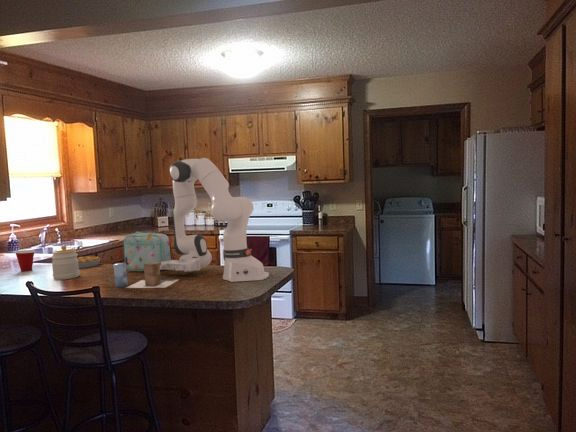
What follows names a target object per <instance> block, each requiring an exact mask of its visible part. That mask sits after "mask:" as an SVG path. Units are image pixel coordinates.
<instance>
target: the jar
mask: <svg viewBox="0 0 576 432" xmlns="http://www.w3.org/2000/svg"><path fill="white" fill-rule="evenodd" d="M76 251H77V250H76V249H74V248H72V247H67V245H66V244H63V245H61V247H60V248H58V249H57V248H56V249H55V250H54V251H52V254H53V255H52V256H51V257H50V259H52V262H51V265H52V277H53V279H54V280H55V281H56V280H57V281H59V280H60V281H62V280H71V279H75V278H78V277H80V268H79V265H78V260H77V258H78V255H79V254H78V253H77V252H76Z"/></svg>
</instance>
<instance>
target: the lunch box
mask: <svg viewBox="0 0 576 432" xmlns="http://www.w3.org/2000/svg"><path fill="white" fill-rule="evenodd" d="M122 255H124V256H123V257H124V259H123V260H124V263H126V270H128V271H133V272H144V264H147V263H151V262H155V263H159V265H160V266H161V262H164V261H169V260H172V257H171V255H172V254H171V245H170V239H169V236H168V235H167V234H166V233H165V234H164V233H157V232H156V233H154V232H152V233H151V232H148V233H147V232H140V231H135V233H131V234H127V235H126V236H125V237H124V238H123V252H122Z"/></svg>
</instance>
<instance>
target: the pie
mask: <svg viewBox="0 0 576 432" xmlns="http://www.w3.org/2000/svg"><path fill="white" fill-rule="evenodd" d="M77 260H78V265H79V269H83V268H84V269H85V268H90V267H91V268H92V267H94V266H95V267H96V266H98V265H99V263H100V261H101V257H100V256H95V255H92V256H90V255H86V256H79V257H78V256H77Z"/></svg>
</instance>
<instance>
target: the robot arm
mask: <svg viewBox="0 0 576 432" xmlns="http://www.w3.org/2000/svg"><path fill="white" fill-rule="evenodd" d="M169 175H170V178H171V179H172V193H173V197H174V208H173V209H172V227H173V248H174V251H175V252H176V253H177V254H178V255H180V257H179V259H171V260H169V261H164V262H161V266H160V271H163V270H170V271H171V270H172V271H175V272H177V271H182V272H183V273H189V272H196V271H201V269H202V268H205V267H208V266H209V264H210V263H211V262H212V259H213V257H212V253H211V252H210V251H209V250H208V242H207V240H206V238H205V237H204V235H203V234H192V235H187V234H186V229H185V218H186V216H188V214H190V213H191V212H193V211H194V210H195V209H196V207H197V205H198V199H197V198H198V197H197V194H196V190H195V182H196V181H197V182H200V184H201V186H202V187H203V188H204V191H206V193H207V194H208V196H209V198H210V200H211V208H210V213H211V216H212V217H213V219H215V220H216V221H219V222H224V223H226V222H227V224H226V225H227V226H226V228H225V230H224V231H223V235H222V238H223V251H222V254H223V255H222V256H223V261H224V266H223V267H224V268H223V275H222V280H225V281H229V282H230V283H233V282H246V281H247V282H249V281H250V282H251V281H263V280H265V279H268V278H269V277H270V272H269V271H265V267H264V264H263V262H261V261H260V260H259V259H257V258H256V257H254V256H253V255H252V250H253V249H252V248H249V247H248V244H247V243H248V242H247V230H248V224H249V220H250V216H251V214H252V213H253V211H254V203H253V202H252V200H251V199H250V198H248V197H245V196H232V195H231V193H230V192H229V187H230V184H229V182H228V180H227V179H226V178H225V176H224V175H223V174H222V172H221V171H220V169H219V168H218V167H217V165H216V164H214V163H213V162H212V161H211V160H210V158H208V157H197V158H185V159H182V160H177V161H174V162H172V164H170V165H169Z"/></svg>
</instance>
